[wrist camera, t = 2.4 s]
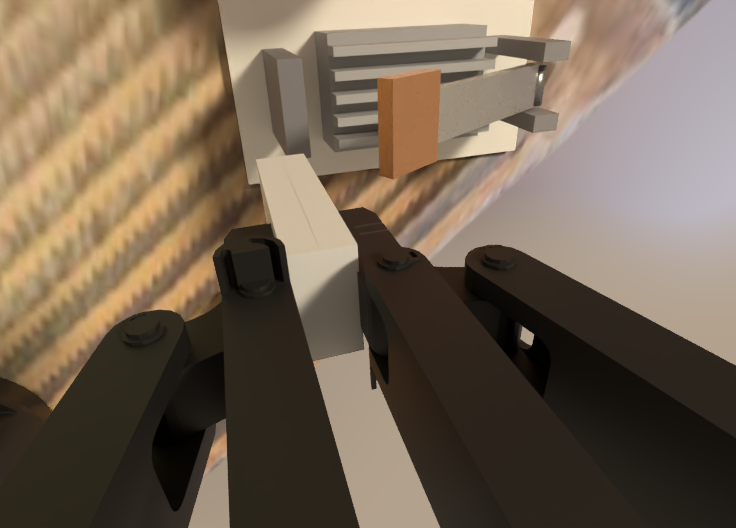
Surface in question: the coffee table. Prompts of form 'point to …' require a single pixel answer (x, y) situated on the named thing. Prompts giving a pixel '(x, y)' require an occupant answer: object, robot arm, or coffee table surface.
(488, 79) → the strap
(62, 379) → the coffee table surface
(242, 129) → the grey frame
